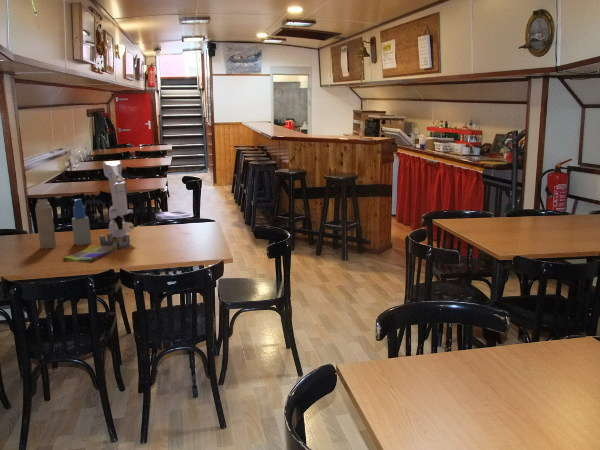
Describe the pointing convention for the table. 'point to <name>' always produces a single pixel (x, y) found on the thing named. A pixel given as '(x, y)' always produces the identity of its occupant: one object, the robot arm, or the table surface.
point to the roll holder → (119, 244)
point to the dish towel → (91, 254)
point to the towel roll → (125, 226)
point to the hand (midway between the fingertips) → (123, 228)
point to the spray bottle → (80, 224)
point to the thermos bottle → (45, 223)
